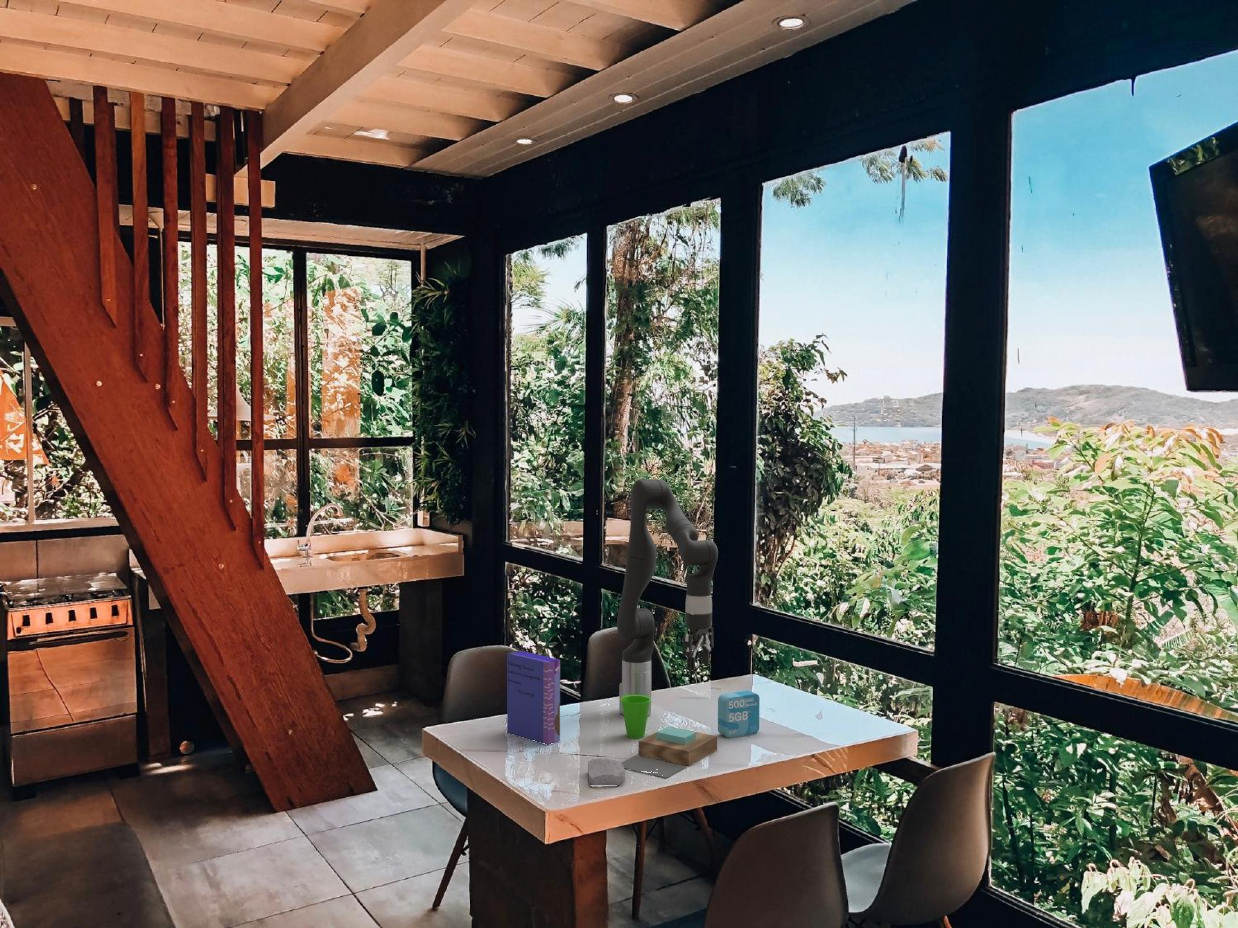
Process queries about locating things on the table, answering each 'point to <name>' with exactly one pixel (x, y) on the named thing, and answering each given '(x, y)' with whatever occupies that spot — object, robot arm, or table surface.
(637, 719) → the cup
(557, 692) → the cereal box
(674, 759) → the wooden block
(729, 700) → the data package
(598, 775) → the stone block
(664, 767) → the mat
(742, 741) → the table surface
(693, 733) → the teal flat block
